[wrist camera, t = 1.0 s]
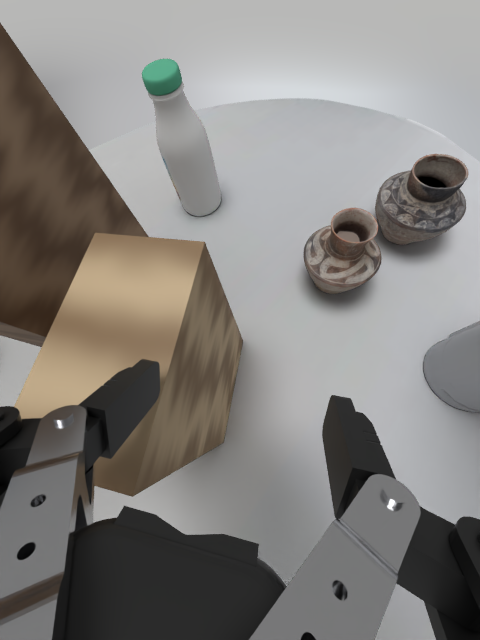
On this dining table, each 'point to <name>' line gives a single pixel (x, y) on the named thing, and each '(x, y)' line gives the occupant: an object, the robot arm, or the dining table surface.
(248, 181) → the dining table surface
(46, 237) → the tall stand
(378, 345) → the dining table surface
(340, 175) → the dining table surface
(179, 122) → the milk bottle
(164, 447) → the lower block
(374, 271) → the pottery
